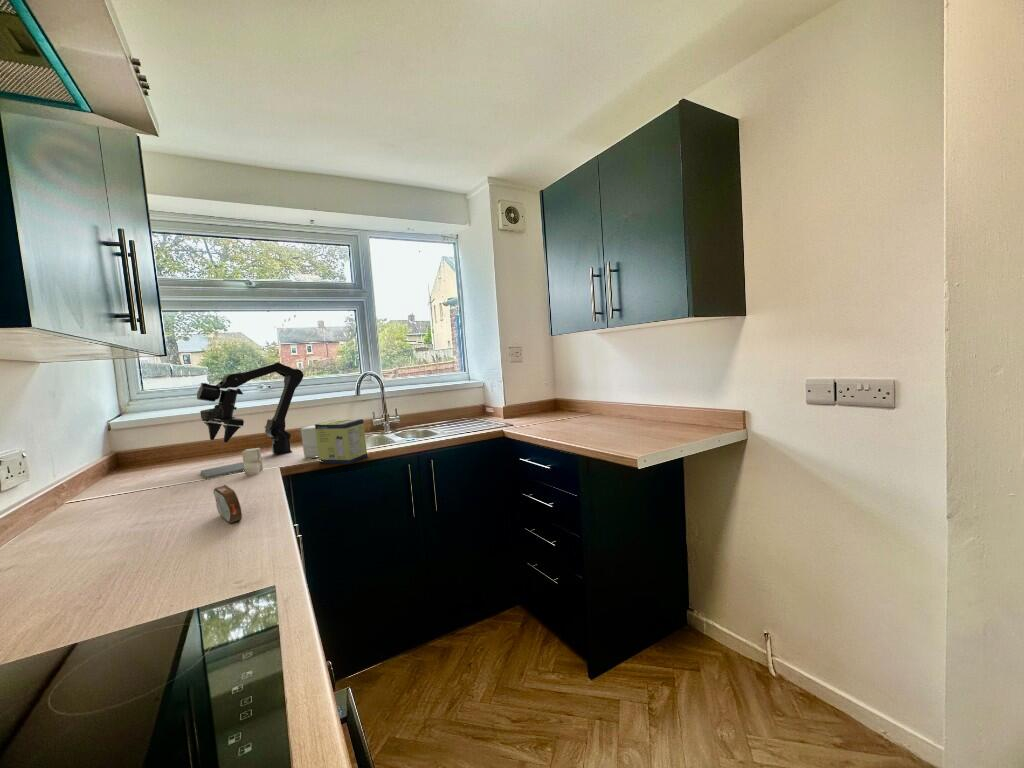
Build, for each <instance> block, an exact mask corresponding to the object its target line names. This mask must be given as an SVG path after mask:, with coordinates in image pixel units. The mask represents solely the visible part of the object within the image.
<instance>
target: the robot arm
mask: <svg viewBox="0 0 1024 768" xmlns="http://www.w3.org/2000/svg"><path fill="white" fill-rule="evenodd" d="M273 373H276V374H278V375H280V376H281V377H284V379H283V385H284V387H283V390H282V392H281V396H280V398H279V400H278V405H277V408H276V410H275V411H274V412H275V413H274V416H273V417H272V418H271V419H266V420H267V421H266V425H264V432H265V434H266V435H267V436H268V437H270V439H271V441H272V443H271V452H272V454H273V453H274V455H275V454H276V456H279V455H283V454H288V453H292V452H293V450H292V449H291V444H290V442H291V441H290V439H291V435H292V434H291V433H289V432H288V431H286V417H287V414H288V411H289V409H290V405H291V402H292V399H293V397H294V394H295V390H296V389H297V388H298V386H299V385H300V384H301V382H302V380H303V379H304V373H303V370H301V369H299V368H293V367H290V366H288V365H285V364H282V363H281V362H272V363H270V364H267V365H264V366H260V367H258V368H254V369H251V370H248V371H244V372H243V371H242V372H235V373H227V374H225V375H223V377H222V379H221V381H219V382H218V383H217V384H215V385H214V384H208V383H205V382H202V383H200V384H201V385H200V386H199V388H198V390H197V392H196V399H197V400H199V401H207V402H211V403H212V402H213V403H214V402H216V401H217V400H218V402H217V403H218V404H215V405H214V408H208V409H203V410H200V411H199V412H200V413H199V414H200V418H201V421H202V422H203V423H204V424H205V425H206V426H207V427H208V434H209V440H210V441H214V439H215V438H216V437H217V434H218V433H219V430H221V427H222V426H223V428H224V435H223V436H224V437H223V443H228V442H229V440H230V439H231V438H232V437H233V436H234V435H235V433H236V432H237V431H238V430H239V429H240V428H242V427H244V423H245V420H244V419H243V418H236V417H235V416H233V414H234V411H235V410H237V408H238V407H236V401H237V397H238V395H244V393H243V391H242V390H241V388H239V387H240V386H242V385H244V384H246V383H247V382H249V381H251V380H254V379H258V378H260V377H264V376H267V375H271V374H273ZM235 388H236V389H235ZM223 389H224V390H223ZM225 389H226V390H225ZM222 423H223V424H222Z"/></svg>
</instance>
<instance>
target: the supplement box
mask: <svg viewBox="0 0 1024 768" xmlns="http://www.w3.org/2000/svg"><path fill="white" fill-rule="evenodd" d="M315 425H316V424H314V425H309V426H305V427H302V428H300V434H301V435H300V436H301V443H302V448H303V450H302V451H303V456H304V457H311V458H315V457H314V456H319V455H318V446H317V438H316V430H315ZM304 457H303V458H304Z"/></svg>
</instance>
